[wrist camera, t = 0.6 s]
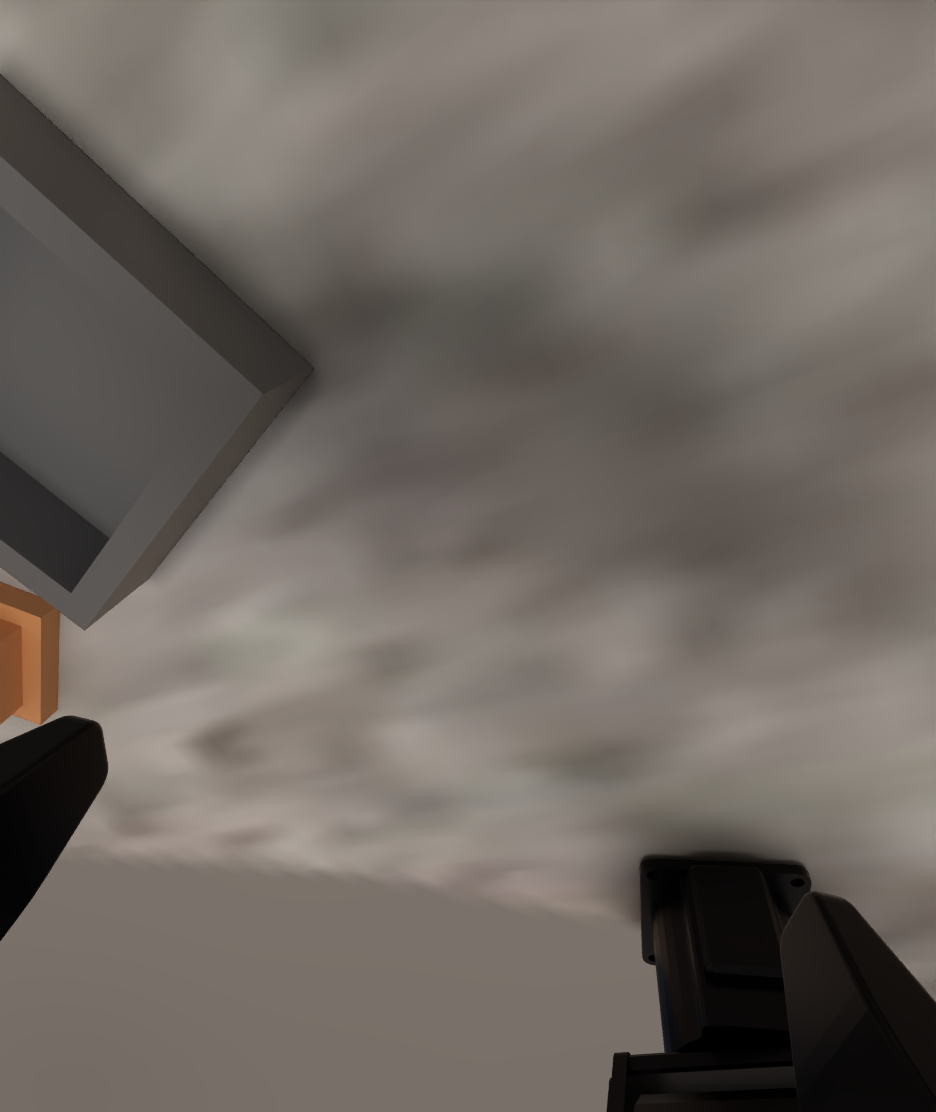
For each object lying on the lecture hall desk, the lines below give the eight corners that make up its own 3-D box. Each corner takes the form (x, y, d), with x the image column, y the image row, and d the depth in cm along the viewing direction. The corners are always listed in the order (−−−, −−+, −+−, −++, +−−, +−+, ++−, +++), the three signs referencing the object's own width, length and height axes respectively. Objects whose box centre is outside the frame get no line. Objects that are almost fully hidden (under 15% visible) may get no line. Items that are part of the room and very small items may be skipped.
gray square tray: (313, 368, 19) (263, 394, 16) (148, 579, 24) (84, 630, 21) (-3, 72, 17) (-131, 37, 14) (-118, 369, 22) (-233, 392, 19)
